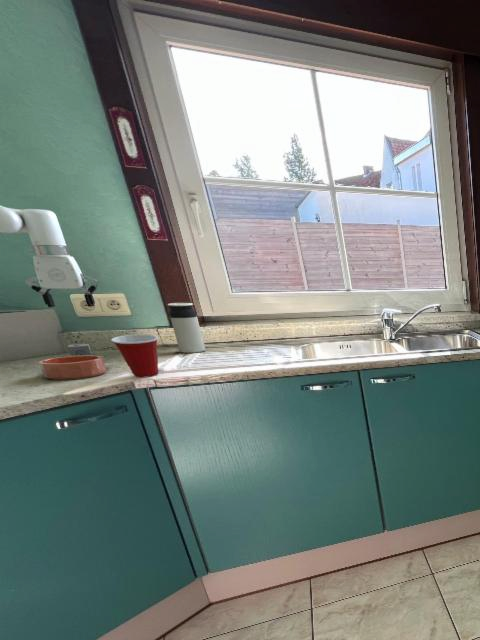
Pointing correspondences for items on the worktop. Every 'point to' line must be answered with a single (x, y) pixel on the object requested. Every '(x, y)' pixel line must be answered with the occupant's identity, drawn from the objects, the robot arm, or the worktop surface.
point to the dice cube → (79, 349)
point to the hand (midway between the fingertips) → (71, 306)
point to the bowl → (72, 367)
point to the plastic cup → (139, 353)
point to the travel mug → (186, 328)
